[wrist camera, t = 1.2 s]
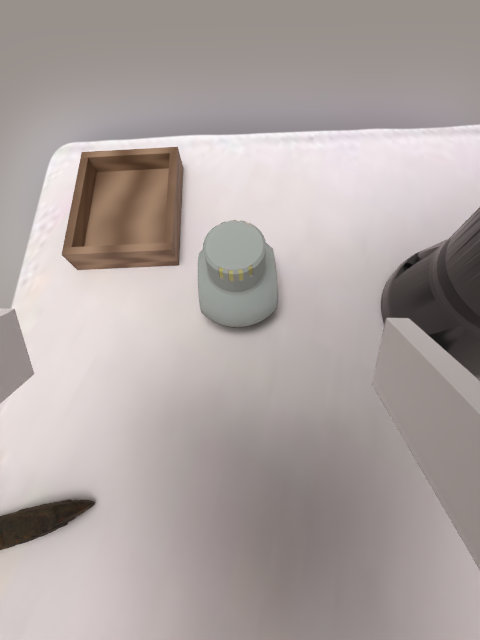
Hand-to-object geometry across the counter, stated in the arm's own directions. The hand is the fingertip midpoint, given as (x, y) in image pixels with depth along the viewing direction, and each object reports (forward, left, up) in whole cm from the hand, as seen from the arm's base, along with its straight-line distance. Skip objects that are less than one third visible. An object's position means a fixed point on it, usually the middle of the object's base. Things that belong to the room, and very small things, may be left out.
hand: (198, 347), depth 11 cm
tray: (+13, -26, -24) cm, 37 cm away
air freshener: (-1, -14, -24) cm, 27 cm away
